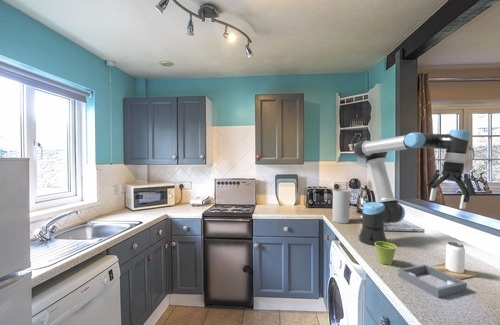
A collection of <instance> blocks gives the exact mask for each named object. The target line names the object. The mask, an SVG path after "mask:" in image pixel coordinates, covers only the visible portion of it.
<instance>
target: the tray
mask: <svg viewBox="0 0 500 325" xmlns="http://www.w3.org/2000/svg"><path fill="white" fill-rule="evenodd" d="M397 271H398V273H397V274H398V275H397V277H399V278H401V279H403V280H404V281H406V282H409V283H410V284H412V285H414V286H415V287H416V288H417V287H418V288H419V289H421V290H423V291H424V292H426V293H428V294H431V295H432V296H434V297H436V298H443V297H447V296H449V295H450V296H452V295H455V294H458V293H463V292H466V290H467V291H468V283H467V282H465V281H464V280H459V279H457V278H455V277H453V276H450V275H448V274H446V273H444V272H441V271H439V270H437V269H434V268H432V267H431V266H429V265H426V264H421V265H420V264H419V265H416V266H409V267H405V268H399V269H397ZM424 273H425V274H428V275H430V276H432V277H434V278H437V279H439V280H441V281H443V282H445V283H446V285H443V286H440V287H436V286H434V285H432V284H431V283H428V282H427V281H424V280H423V279H420V278H419V277H417V275H419V274H424Z"/></svg>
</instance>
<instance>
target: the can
mask: <svg viewBox="0 0 500 325" xmlns="http://www.w3.org/2000/svg"><path fill="white" fill-rule="evenodd" d="M465 255H466V249H465V245H463V244H461V243H458V242H453V241H448V242H447V244H446V246H445V268H446V269H447V270H449V271H451V272H454V273H460V274H461V273H464V269H465V264H466V263H465V258H466V256H465Z"/></svg>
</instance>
